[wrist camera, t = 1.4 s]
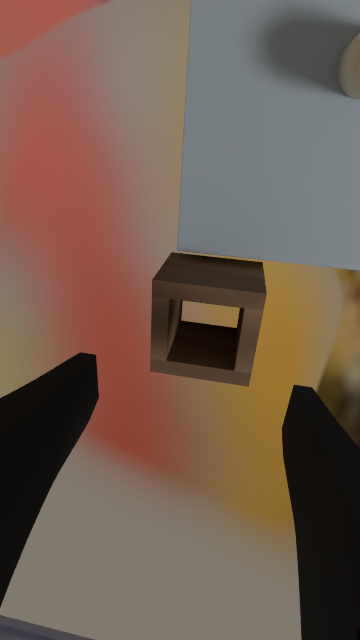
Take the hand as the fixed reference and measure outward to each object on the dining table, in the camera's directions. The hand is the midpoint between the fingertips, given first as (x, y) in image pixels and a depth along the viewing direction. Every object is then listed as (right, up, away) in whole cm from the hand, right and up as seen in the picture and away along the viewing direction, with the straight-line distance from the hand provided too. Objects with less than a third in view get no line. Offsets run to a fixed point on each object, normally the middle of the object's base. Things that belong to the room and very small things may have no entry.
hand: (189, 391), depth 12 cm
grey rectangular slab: (+7, +13, +2) cm, 15 cm away
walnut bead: (+2, +4, +7) cm, 9 cm away
